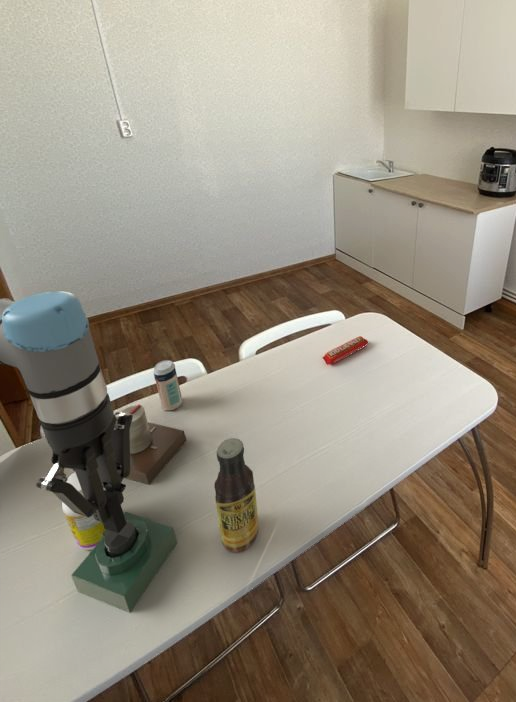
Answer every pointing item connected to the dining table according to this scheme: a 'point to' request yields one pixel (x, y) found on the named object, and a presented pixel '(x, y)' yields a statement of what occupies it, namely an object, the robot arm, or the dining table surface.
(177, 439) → the dial panel
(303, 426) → the dining table surface
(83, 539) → the supplement bottle
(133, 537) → the dark grey push button
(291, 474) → the dining table surface
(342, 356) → the candy bar
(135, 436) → the dial
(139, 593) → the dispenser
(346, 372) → the dining table surface
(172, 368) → the pale pink canister
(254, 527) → the sauce bottle
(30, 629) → the dining table surface
